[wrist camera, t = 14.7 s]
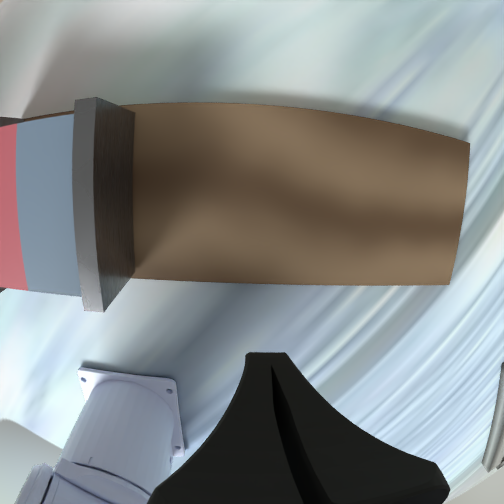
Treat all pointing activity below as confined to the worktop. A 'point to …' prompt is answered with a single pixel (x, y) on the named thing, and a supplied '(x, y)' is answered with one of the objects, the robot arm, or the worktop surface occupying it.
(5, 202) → the red rectangular block
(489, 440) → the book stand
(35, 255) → the slate book
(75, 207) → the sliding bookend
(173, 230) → the book shelf
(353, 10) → the worktop surface
